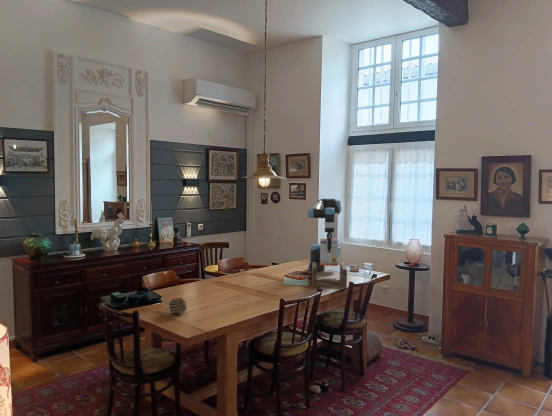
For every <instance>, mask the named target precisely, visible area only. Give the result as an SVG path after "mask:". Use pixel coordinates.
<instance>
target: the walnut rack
mask: <svg viewBox="0 0 552 416" xmlns="http://www.w3.org/2000/svg"><path fill="white" fill-rule="evenodd" d="M317 272H318V271H317V267H316V262H312V271H311V285H312V288H313V287H315V288H340V287H342V288H346V289H347V288H348V287H347V285H348V284H347V283H348V279H347V278H348V268H347V266H346V265H345V263H344V262H339V279H336V280H321V279H317V278H318V273H317ZM342 288H341V289H342Z"/></svg>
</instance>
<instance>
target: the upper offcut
mask: <svg viewBox="0 0 552 416" xmlns="http://www.w3.org/2000/svg"><path fill="white" fill-rule="evenodd" d="M320 280H337V277H325V276H323V277H322V276H321V277H320Z"/></svg>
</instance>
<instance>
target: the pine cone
mask: <svg viewBox="0 0 552 416" xmlns="http://www.w3.org/2000/svg"><path fill="white" fill-rule="evenodd" d="M165 303H166V304H167V305H168V309H169V310H170V312H171V313H174V314H184V312H186V311H187V310H188V309H187V308H188V307H187V305H188V304H187V302H186V300H185V299H183V298H182V297H176V298H173V299H171V300H168V299H167V298H166V299H165Z"/></svg>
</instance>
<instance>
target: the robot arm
mask: <svg viewBox="0 0 552 416" xmlns="http://www.w3.org/2000/svg"><path fill="white" fill-rule="evenodd" d="M341 212H342V204H341V199H339V198H320V199H318V200H316V201H314V203H313V204H312V208H308V210H307V218H308V219H324V223H323V224H324V232H325V233H326V239H327V240H328V248H327V249H328V251H327V257H331V240H332V239H338V228H339V227H338V226H339V225H338V224H339V215H340V213H341ZM340 252H341V245H340V244H339V243H338V259H339V258H340ZM309 253H310V254H309V255H310V260H309V263H308V266H307V269H308V271H311V272H312V262H316V267H317V272H322V271H324V272H325V270H326V267H325V266H326V265H320V243H314V244H311V245H310V252H309Z"/></svg>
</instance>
